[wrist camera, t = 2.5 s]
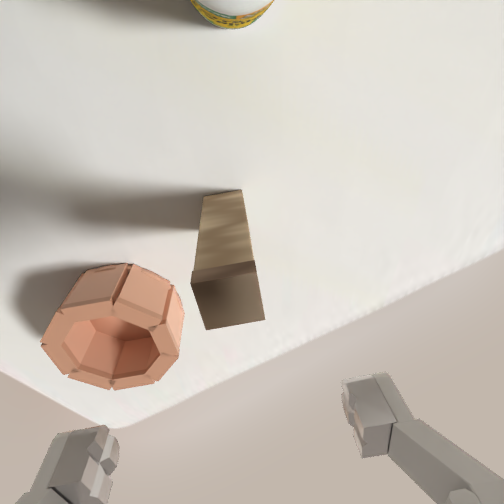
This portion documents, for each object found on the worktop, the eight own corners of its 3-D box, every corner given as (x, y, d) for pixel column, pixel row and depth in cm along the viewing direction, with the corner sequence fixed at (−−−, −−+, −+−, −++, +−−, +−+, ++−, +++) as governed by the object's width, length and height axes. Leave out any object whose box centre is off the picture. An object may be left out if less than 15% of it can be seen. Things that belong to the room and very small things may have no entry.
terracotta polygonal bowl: (164, 255, 26) (153, 291, 22) (194, 335, 31) (189, 377, 27) (49, 275, 26) (16, 316, 22) (98, 352, 31) (79, 397, 27)
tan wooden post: (242, 188, 23) (256, 271, 14) (248, 224, 25) (265, 319, 16) (202, 196, 23) (190, 283, 14) (211, 231, 25) (205, 330, 16)
